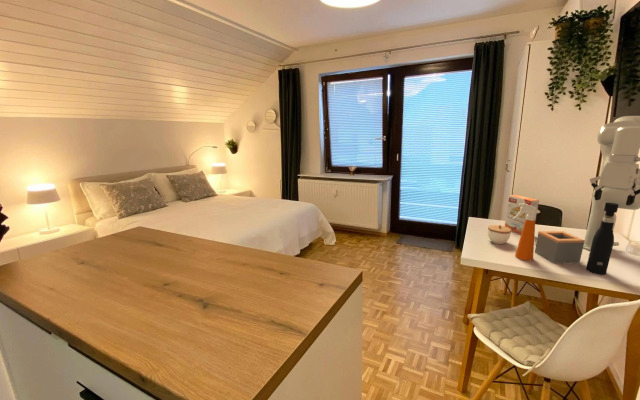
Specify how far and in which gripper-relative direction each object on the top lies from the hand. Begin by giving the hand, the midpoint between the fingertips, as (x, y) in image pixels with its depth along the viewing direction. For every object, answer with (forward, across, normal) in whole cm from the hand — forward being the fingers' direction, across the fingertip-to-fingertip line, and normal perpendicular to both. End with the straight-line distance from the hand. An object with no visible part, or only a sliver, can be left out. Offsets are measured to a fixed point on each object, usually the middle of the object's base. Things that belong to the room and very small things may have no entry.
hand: (612, 202), depth 120 cm
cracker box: (+30, +45, -21) cm, 58 cm away
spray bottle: (+31, +23, +14) cm, 41 cm away
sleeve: (+31, +16, -1) cm, 34 cm away
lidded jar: (+31, +40, +5) cm, 51 cm away
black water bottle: (+31, 0, -1) cm, 31 cm away
